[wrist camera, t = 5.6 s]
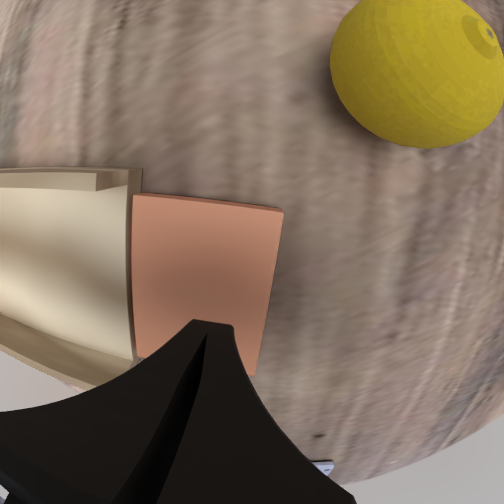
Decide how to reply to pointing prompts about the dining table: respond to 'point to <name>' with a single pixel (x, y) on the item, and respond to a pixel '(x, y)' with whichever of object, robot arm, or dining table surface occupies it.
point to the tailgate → (202, 268)
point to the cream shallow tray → (68, 271)
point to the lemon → (418, 70)
